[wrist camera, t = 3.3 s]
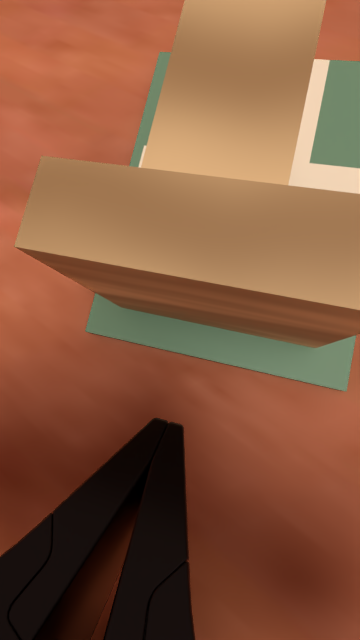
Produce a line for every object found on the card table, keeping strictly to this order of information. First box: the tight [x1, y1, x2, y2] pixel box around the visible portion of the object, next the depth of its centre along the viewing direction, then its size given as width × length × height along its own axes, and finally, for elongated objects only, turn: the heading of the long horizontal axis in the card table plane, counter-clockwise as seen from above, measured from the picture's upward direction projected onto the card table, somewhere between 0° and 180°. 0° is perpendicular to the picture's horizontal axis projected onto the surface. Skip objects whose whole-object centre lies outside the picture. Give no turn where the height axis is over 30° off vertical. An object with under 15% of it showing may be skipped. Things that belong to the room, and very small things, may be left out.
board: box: [85, 52, 360, 391], centre depth 16 cm, size 16×12×1 cm
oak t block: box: [14, 0, 360, 348], centre depth 12 cm, size 8×9×8 cm
